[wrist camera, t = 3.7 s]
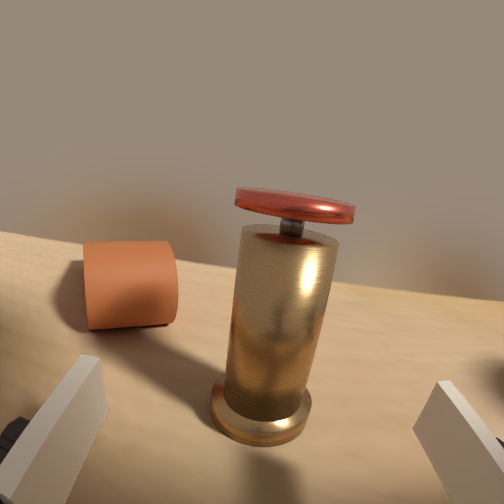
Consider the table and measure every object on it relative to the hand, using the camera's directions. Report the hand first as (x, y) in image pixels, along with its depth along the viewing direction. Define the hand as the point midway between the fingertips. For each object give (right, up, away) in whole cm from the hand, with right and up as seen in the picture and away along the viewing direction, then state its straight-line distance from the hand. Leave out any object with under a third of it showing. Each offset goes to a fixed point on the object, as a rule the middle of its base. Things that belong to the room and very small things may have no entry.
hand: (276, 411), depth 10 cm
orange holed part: (-16, 0, +23) cm, 28 cm away
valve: (0, -5, +9) cm, 10 cm away
